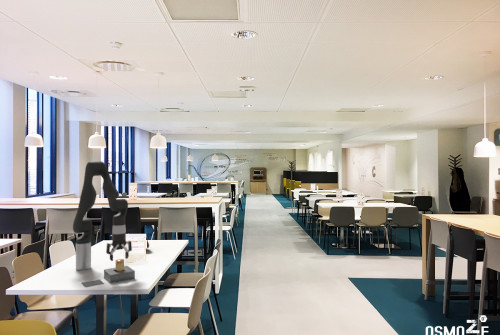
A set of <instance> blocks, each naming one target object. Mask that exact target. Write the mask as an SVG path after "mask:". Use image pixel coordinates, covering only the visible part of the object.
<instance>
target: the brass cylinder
mask: <svg viewBox="0 0 500 335" xmlns="http://www.w3.org/2000/svg"><path fill="white" fill-rule="evenodd" d="M124 266H125V258H118V259H116V260H115V268H116V272H120V271H124Z"/></svg>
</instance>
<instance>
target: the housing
mask: <svg viewBox="0 0 500 335" xmlns="http://www.w3.org/2000/svg"><path fill="white" fill-rule="evenodd" d="M135 272H136V270H134V269H132V268H131V267H130V266H128V265H124V271H120V272H116V267H111V268H104V269H103V278H104V280H106V281H107V282H108V283H110V284H113V283H119V282H124V281H131V280H135V277H136V276H135V274H136V273H135Z"/></svg>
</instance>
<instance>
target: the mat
mask: <svg viewBox="0 0 500 335" xmlns="http://www.w3.org/2000/svg"><path fill="white" fill-rule="evenodd" d="M81 284H82V285H83V287H84V288H89V287H96V286H100V285H104V284H105V283H104V282H103V281H102V280H101V278H99V279H94V280H89V281H83V282H81Z"/></svg>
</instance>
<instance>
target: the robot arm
mask: <svg viewBox="0 0 500 335" xmlns="http://www.w3.org/2000/svg"><path fill="white" fill-rule="evenodd" d="M84 169H85V170H84V179H83V185H82V189H81V193H80V196H79V202H78V206H77V207H78V208H77V211H76V213H75V217H74V220H73V222H72V231H73V232H74V233H75V234H82V235H80V236H79V237H77V238H76V239H75V270H76V271H85V270H89V269H91V268H92V238H93V237H92V235H93V234H92V233H93V221H92V219H91V218H89V217H85V216H86V214H87V213H88V212H90V210H92V208H93V207H94V206H95V203H96V199H97V191H96V189H95V187H94V185H93V180H94V177H97V176H99V177H100V176H101V178H102V179H103V182H102V190H103V194H105V196H106V198H107V202H108V206H109V209H110V210H111V211H112V212H118V213H117V214H114V215H113V216H112V227H111V228H112V232H111V234H112V238H111V239H112V242H111V243H106V250H105V252H106V255H107V254H108V255H109V260H110V261H111V262H113V261H114V253H115V252H116V251H119V250H124V251H125V255H124V259H126V260H127V259H128V258H129V256H130V255H129V253H130V252H132V250H133V247H132V245H133V244H132V241H131V240H128V241H126V239H127V237H126V236H127V235H126V232H127V230H126V229H127V228H126V216H127V213H128V208H129V203H128V200H127V199H125V198H119V197H120V193H119V190H118V189H117V188H116V187H115V185H114V183H113V180H112V177H111V174H110V172H109V170H108V167H107V165H106V164H105V163H104V162H103V161H101V160H97V161H95V160H93V161H89V162H87V163H86V166H85V168H84ZM126 245H127V247H128V248H127V247H126ZM111 247H112V248H111ZM110 248H111V249H110Z"/></svg>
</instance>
